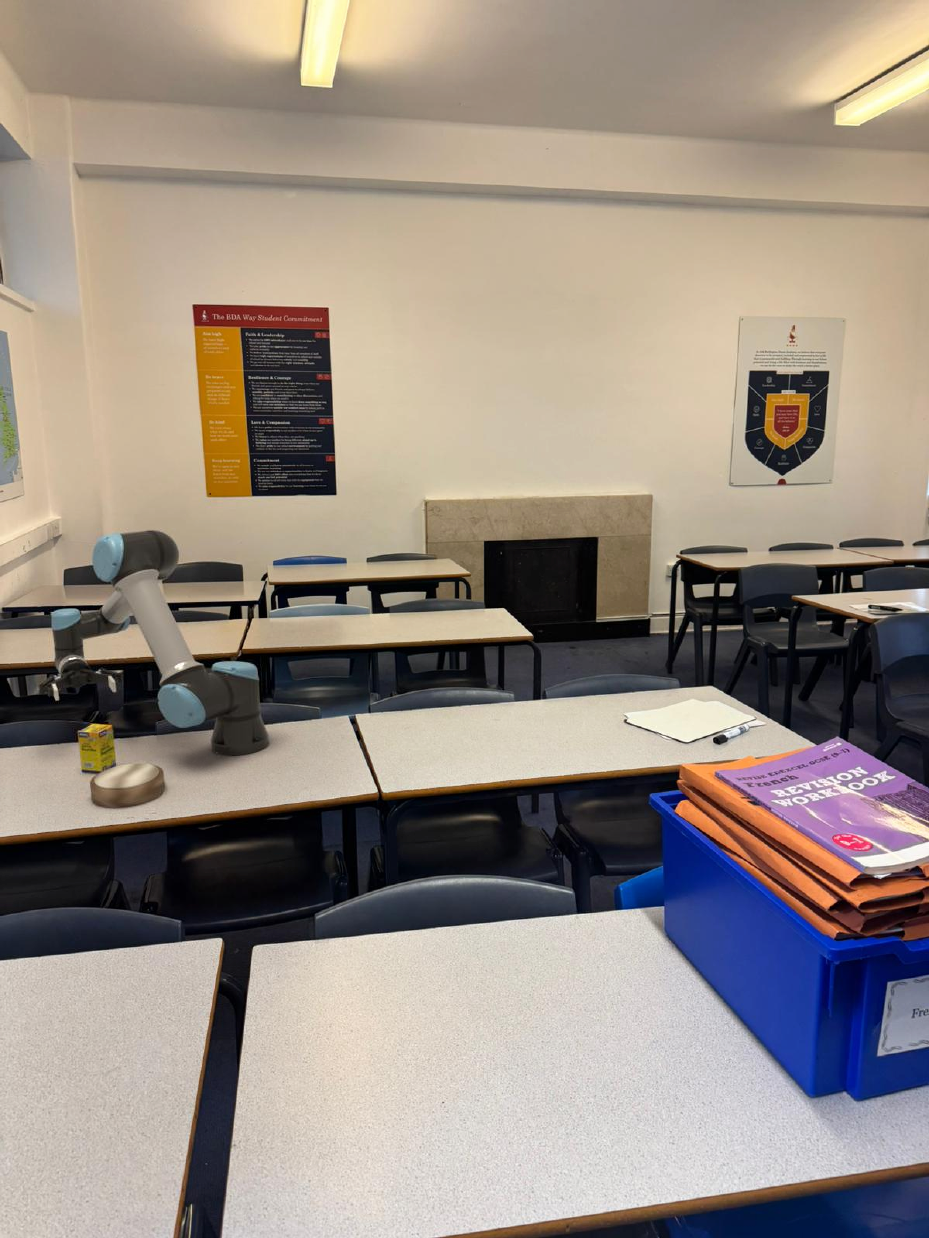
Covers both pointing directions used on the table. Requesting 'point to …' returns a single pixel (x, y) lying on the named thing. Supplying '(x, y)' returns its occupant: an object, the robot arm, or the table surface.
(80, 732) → the supplement box
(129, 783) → the podium
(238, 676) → the robot arm
